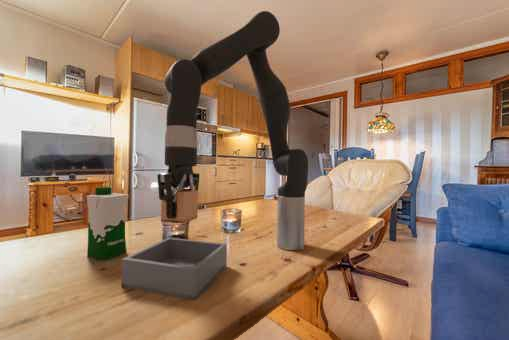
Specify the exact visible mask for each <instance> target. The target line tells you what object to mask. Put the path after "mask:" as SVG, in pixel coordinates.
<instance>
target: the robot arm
mask: <svg viewBox="0 0 509 340" xmlns="http://www.w3.org/2000/svg"><path fill="white" fill-rule="evenodd" d="M280 30H281V28H280V24H279V20H278V19H277V17H276V16H275V15H274V14H273V13H272V12H270V11H268V10H267V11H266V10H262V11H259V12H258V13H256V14H255V15H254V16H253V17H251V18H250V20H249V21H248V22H247V23H246V24H245V25H244V26H241V28H240V29H237V31H235V32H233V33H231V34H230V35H227V36H226V37H224V38H222V39H220V40H218V41H217V42H214V43H213V44H211V45H209V46H207V47H205V48H202V49H201V50H200V51H198V52H197V53H196V54H195V55H194V56H193V57H191V59H186V58H184V59H183V58H181V59H179V60H178V59H177V60H176V61H175V62H174V63H173V64H172V65H171V67H170V68H169V70H167V73H166V75H165V77H164V86H165V88H166V90H167V92H168V93H170V99H169V100H170V101H169V103H168V105H167V107H166V108H167V110H166V123H165V125H166V127H165V129H166V130H165V135H164V165H165V166H167V167H168V169H167V172H158V174H157V184H158V185H157V186H158V187H157V188H158V189H157V190H158V197H159V198H158V199H159V200H164V201H165V202H166V215H167V218H169V219H174V218H176V217H177V202H176V201H177V193H178V192H181V191H192V190H197V191H198V192H199V185H200V184H199V183H200V175H201V174H200V173H199V172H194V169H193V167H197V165H198V141H199V139H198V129H197V128H198V124H197V123H198V121H197V120H198V114H197V113H198V107H199V103H200V97H201V93H202V92H201V90H202V86H203V85H204V84H206V83H208V81H211V80H213V79H214V78H216V77H218V76H220V75H221V74H222V73H224V72H226V71H228V69H230V68H231V67H233V66H234V65H236V64H237V63H238V62H239V61H241V60H242V59H243V58H244V57H245V56H246V57H247V60H248V62H249V66H250V69H251V72H252V75H253V79H254V83H255V86H256V89H257V93H258V98H259V102H260V107H261V110H262V114H263V118H264V121H265V126H266V129H267V134H268V139H269V145H270V150H271V151H270V152H271V157H272V163H273V164H272V165H273V167H274V170H275V171H276V173H278V175H279V176H283V177H286V181H285V183H284V184H283V185H281V186H279V187H278V188H277V212H276V213H277V214H276V215H277V218H276V219H277V222H276V223H277V225H276V226H277V227H276V231H277V232H276V233H277V235H276V245H277V247H278V248H280V249H283V250H285V251H300V250H301V251H304V250H305V240H306V239H305V233H306V231H305V230H306V228H305V227H306V218H305V216H306V215H305V213H306V212H305V207H306V206H305V204H306V203H305V200H306V190H307V187H308V178H309V177H308V176H309V158H308V155H307V153H306V152H305V151H304V150H303V149H301V148H292V149H290V148H289V147H290V146H289V144H288V140H287V130H288V125H289V120H290V115H291V104H290V99H289V96H288V92H287V87H286V86H285V84H284V83H283V81H281V79H280V78H279V77H278V76H277V75H276V73H274V71H273V70H272V68H271V66H270V62H269V60H268V56H267V51H266V50H267V49H269V48H270V47H271V46H272V45H274V44H275V43H276V41H278V38H279V36H280ZM164 191H166V195H164ZM172 192H174V194H173V196H172Z"/></svg>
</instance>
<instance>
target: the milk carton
mask: <svg viewBox="0 0 509 340" xmlns="http://www.w3.org/2000/svg"><path fill="white" fill-rule="evenodd" d="M94 192H95V193H94V194H88V195H86V201H87V209H88V218H87V219H88V220H87V221H88V222H87V224H88V226H87V227H88V228H87V230H88V231H87V232H88V233H87V258H90V259H95V260H100V261H103V262H104V261H107V260H110V259H112V258H116V257H118V256H121V255H122V254H126V253H127V242H126V241H127V240H126V208H127V204H128V199H129V196H130V195H129V194H126V193H116V192H112V187H109V186H108V187H107V186H103V187H101V186H99V187H95V189H94Z"/></svg>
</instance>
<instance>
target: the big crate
mask: <svg viewBox="0 0 509 340" xmlns="http://www.w3.org/2000/svg"><path fill="white" fill-rule="evenodd" d="M227 247H228V244H227V243H221V242H214V241H213V242H212V241H203V240H194V239H186V238H177V237H167V238H165V239H163V240H161V241H158V242H156V243H155V244H152V245H150V246H148V247H146V248H143V249H141V250H139V251H137V252H134V253H132V254H130V255H128V256H126V257H124V258H122V259H121V285H120V286H121V287H122V288H127V289H130V290H131V289H132V290H138V291H141V292H146V293H147V292H148V293H153V294H158V295H164V296H168V297H174V298H179V299H184V300H188V301H196V300H197V299H198V298H199V297H200V296H201V295H202V294H203V293H204V292H205V291H206V289H207V288H208V287H209V286H210V285H211V284H212V283H213V282H214V281H215V279H216V278H217V277H218V276H219V275H220V274H221V273H222V272H223V270H225V268H226V267H227V263H228V262H227V259H228V258H227V256H228V255H227V254H228V253H227V252H228V248H227Z"/></svg>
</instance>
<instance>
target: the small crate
mask: <svg viewBox="0 0 509 340" xmlns="http://www.w3.org/2000/svg"><path fill="white" fill-rule="evenodd" d="M173 194H174V192H172V196H173ZM164 195H166V190H164ZM198 195H199V190H198V191H197V190H194V189H193V190H192V191H181V192H178V193H177V201H176V202H177V217H176V218H174V219H169V218H167V215H166V202H165V201H164V200H161V202H160V203H161V206H160V207H161V209H160V222H163V223H167V222H172V223H181V225H182V224H183V225H184V224H186V223H188V222H190V221H193V220H197V219H198V199H199V196H198Z"/></svg>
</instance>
